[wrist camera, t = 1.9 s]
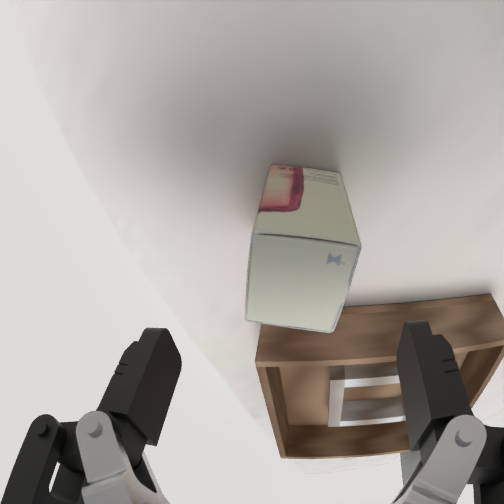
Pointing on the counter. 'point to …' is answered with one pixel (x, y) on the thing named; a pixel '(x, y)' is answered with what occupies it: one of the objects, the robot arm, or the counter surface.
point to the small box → (301, 250)
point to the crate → (365, 374)
